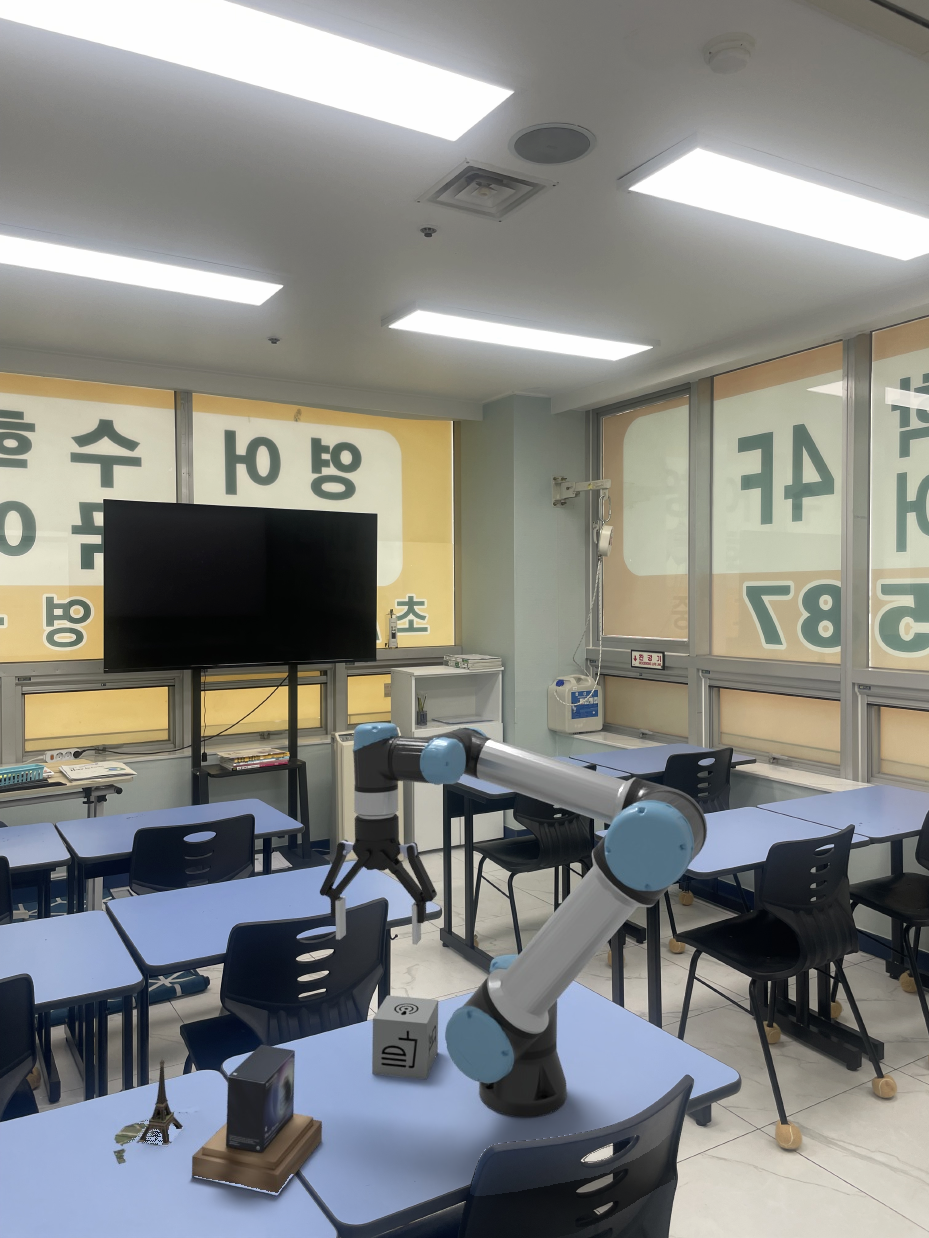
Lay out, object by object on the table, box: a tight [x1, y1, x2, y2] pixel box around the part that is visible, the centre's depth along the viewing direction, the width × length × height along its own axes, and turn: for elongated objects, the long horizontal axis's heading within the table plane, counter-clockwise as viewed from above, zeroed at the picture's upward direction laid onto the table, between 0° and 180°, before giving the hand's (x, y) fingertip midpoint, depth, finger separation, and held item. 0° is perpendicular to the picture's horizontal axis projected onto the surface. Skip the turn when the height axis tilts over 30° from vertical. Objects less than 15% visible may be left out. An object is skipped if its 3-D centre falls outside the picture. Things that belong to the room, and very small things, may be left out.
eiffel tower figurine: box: [113, 1058, 183, 1164], centre depth 138 cm, size 15×10×13 cm
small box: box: [226, 1044, 296, 1153], centre depth 132 cm, size 11×6×10 cm, turn 165°
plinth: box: [191, 1112, 323, 1193], centre depth 132 cm, size 14×14×4 cm
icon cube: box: [371, 995, 439, 1080], centre depth 161 cm, size 10×10×10 cm
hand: (378, 939), depth 148 cm, fingers open, 13 cm apart
